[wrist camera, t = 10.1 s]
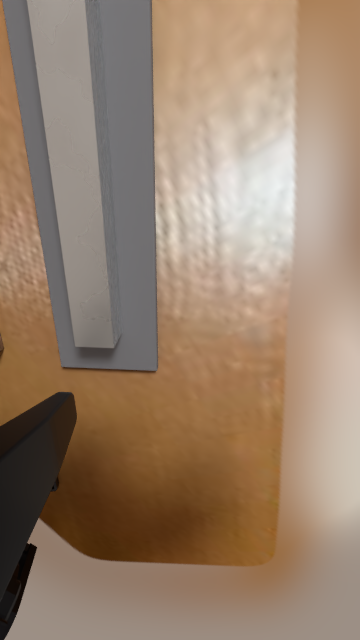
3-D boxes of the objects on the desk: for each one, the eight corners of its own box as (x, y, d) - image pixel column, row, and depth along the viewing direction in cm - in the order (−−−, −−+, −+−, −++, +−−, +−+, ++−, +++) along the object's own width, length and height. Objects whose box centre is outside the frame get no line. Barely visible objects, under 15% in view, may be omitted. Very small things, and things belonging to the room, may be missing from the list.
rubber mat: (158, 366, 22) (156, 370, 22) (65, 362, 23) (61, 366, 22) (146, -274, 11) (144, -297, 11) (-33, -262, 12) (-44, -285, 11)
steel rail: (122, 331, 21) (113, 348, 19) (88, 330, 21) (75, 346, 19) (88, -166, 12) (64, -245, 10) (30, -164, 12) (-7, -242, 10)
